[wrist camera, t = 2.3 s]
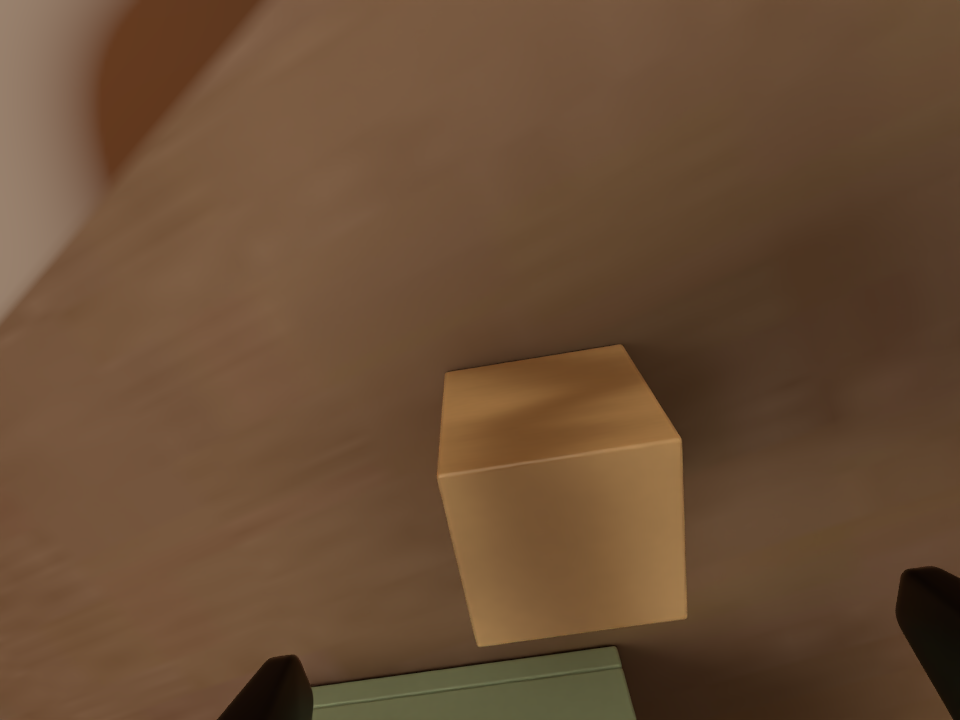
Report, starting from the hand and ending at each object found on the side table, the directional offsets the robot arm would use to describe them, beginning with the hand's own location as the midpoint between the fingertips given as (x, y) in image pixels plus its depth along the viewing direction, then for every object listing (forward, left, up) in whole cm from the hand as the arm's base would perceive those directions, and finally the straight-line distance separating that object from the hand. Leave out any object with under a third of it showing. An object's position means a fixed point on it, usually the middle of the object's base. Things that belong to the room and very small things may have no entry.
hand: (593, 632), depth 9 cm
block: (0, 0, -6) cm, 6 cm away
